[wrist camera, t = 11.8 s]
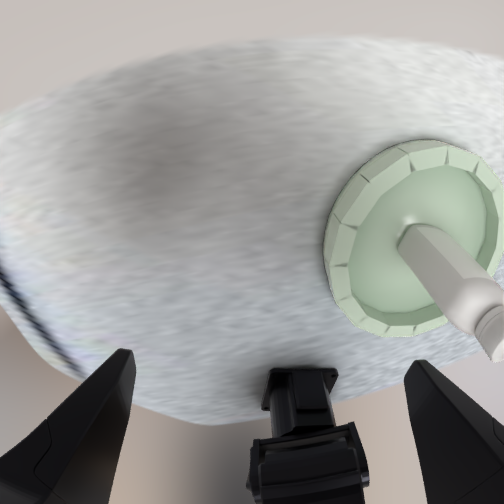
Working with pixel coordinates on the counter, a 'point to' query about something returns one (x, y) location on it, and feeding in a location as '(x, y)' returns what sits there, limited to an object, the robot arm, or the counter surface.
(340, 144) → the counter surface
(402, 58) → the counter surface
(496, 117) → the counter surface
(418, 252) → the eye dropper bottle
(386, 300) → the sage dish
